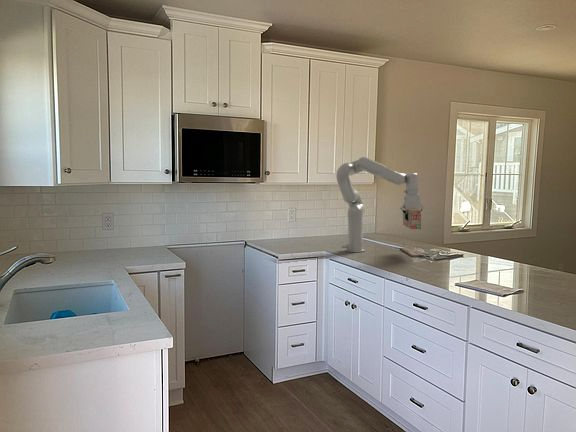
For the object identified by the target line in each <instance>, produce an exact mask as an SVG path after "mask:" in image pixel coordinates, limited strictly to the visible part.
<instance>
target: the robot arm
mask: <svg viewBox="0 0 576 432" xmlns="http://www.w3.org/2000/svg"><path fill="white" fill-rule="evenodd" d="M362 172H366V173H369V174H371V175H373V176H375V177H378V178H380V179H383V180H385V181H388V182H390V183H392V184H394V185H397V186H403V185H405V190H403V193H404V198H403V204H402V206H401V207H400V208H399V209H400V211H402V213H403V212H404V214H405V219H406V220H408V214H407V213H408V210H409V209H420V210H421V212H422V211H423V210H424V209H425V206H423V204H421V196H420V194H419V174H418V173H417V172H416V173H415V172H410V173H409V172H408V173H402V172H397V171H395V170H393V169H391V168H389V167H387V165H384V164H383V163H380V162H378V161H375V160H373V159H371V158H369V157H365V156H362V157H360V158H358V159H356V160H354V161H351V162H344V163H343V164H342V165H340V166H339V168H338V169H337V170H336V176H335V177H336V181H337V185H338V187H339V190H340V192H341V195H342V199H343V200H344V202H345V203H347V205H348V210H347V221H348V223H347V224H348V227H347V228H348V230H347V233H348V235H347V236H348V243H347V244H342V245H341V249H345V251H346V252H349V253H362V252H366V249H365V248H364V247H363V243H364V242H363V233H364V232H363V229H364V227H363V225H364V224H363V216H364V213H365V207H364V203H363V202H362V198H361V196H360V194H359V191H358V190H356V189H355V188H354V187H353V184H352V181H351V180H350V176H352V175H356V174H359V173H362Z"/></svg>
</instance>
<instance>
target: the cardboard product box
mask: <svg viewBox="0 0 576 432" xmlns="http://www.w3.org/2000/svg"><path fill="white" fill-rule="evenodd" d="M407 214H408V220H406V219H405V214H404V212H403V211H402V225H403V226H405V227H406V228H409V229H410V230H421V229H422V211H421V210H420V209H409V210H408V213H407Z"/></svg>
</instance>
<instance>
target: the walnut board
mask: <svg viewBox="0 0 576 432" xmlns="http://www.w3.org/2000/svg"><path fill="white" fill-rule="evenodd" d="M414 249H417V250H422V248H420V247H418V246H417V247H400V251H402V252H404V253H405V254H407V255H408V256H410V257H411V258H423V257H422V256H424V255H425V254H421V253H417V252H415V251H413V250H414Z"/></svg>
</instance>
